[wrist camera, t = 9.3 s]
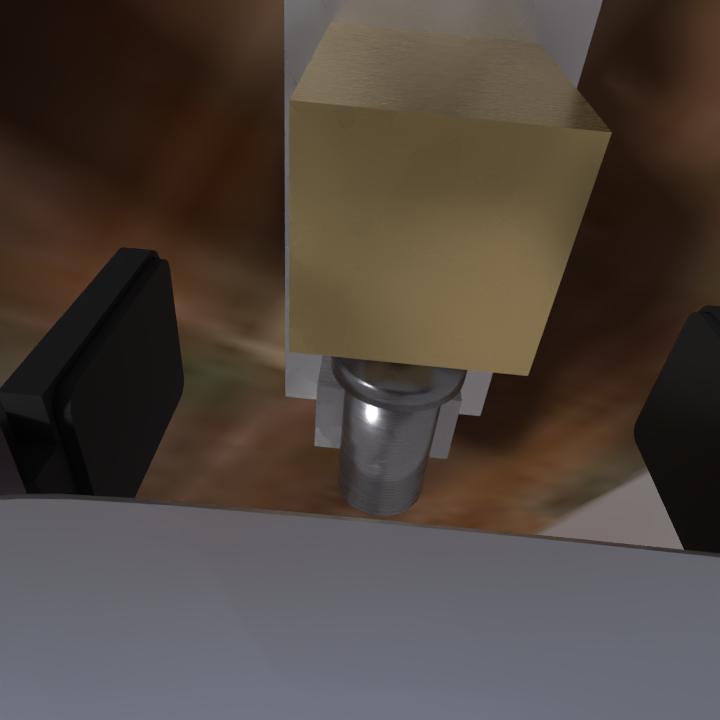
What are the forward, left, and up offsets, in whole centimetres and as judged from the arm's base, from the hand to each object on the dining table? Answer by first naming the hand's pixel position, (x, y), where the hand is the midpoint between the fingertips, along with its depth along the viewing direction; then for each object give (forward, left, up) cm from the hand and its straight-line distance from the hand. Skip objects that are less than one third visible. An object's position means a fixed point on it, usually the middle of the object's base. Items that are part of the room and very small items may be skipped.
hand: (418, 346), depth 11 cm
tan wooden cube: (+1, 0, -9) cm, 9 cm away
